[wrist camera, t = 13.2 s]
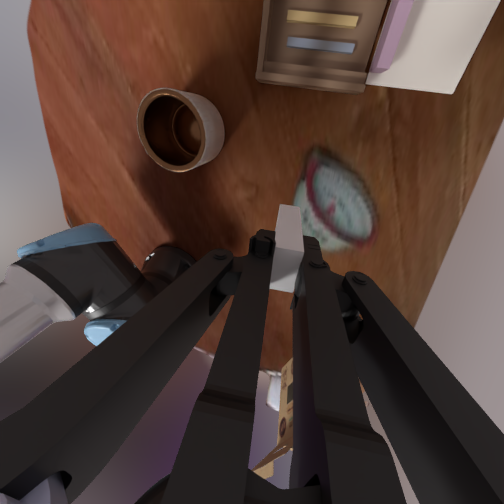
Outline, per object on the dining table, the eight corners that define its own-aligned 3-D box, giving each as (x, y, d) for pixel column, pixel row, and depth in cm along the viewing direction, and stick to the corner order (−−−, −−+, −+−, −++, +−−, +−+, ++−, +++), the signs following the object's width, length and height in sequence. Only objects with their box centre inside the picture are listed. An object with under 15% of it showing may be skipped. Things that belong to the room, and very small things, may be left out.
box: (289, 327, 62) (283, 469, 37) (350, 352, 63) (386, 507, 38) (262, 361, 73) (244, 487, 48) (314, 381, 74) (323, 516, 49)
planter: (159, 135, 40) (125, 139, 32) (186, 77, 35) (153, 64, 27) (205, 174, 43) (184, 187, 35) (237, 126, 37) (221, 128, 29)
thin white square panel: (363, 84, 32) (372, 80, 28) (394, -13, 26) (410, -34, 23) (448, 94, 31) (469, 91, 27) (498, -5, 25) (532, -25, 22)
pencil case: (259, 82, 33) (255, 78, 30) (272, -38, 27) (268, -60, 24) (356, 95, 32) (363, 92, 29) (394, -28, 26) (409, -50, 22)
